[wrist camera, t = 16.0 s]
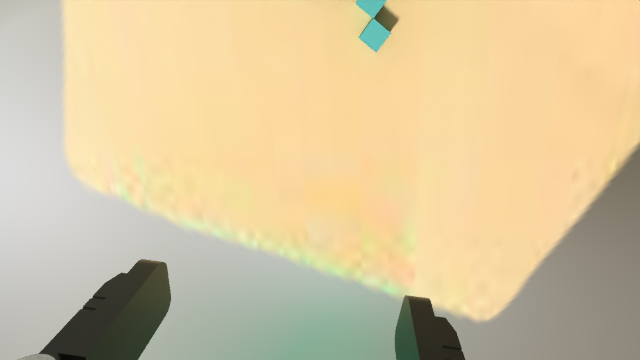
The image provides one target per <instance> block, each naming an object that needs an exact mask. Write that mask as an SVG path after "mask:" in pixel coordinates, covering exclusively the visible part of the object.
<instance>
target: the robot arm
mask: <svg viewBox="0 0 640 360" xmlns="http://www.w3.org/2000/svg"><path fill="white" fill-rule="evenodd" d="M170 301H171V293H170V285H169V279H168V271H167V265H166V263H164V262H159V261H151V260H144V259H142V260H139V261H138V262H137V263H136V264H135V265H134V266H133V268H132V269H131V270H130V271H129V272H128V273H127V274H126V273H120V274H119V275H117V276H115V277H114V278H112V279H111V280H109V281H107V282H106V283H105V284H104V285H103V286H102V287H101V288H100V289H99V290H98V291H97V292H96V293H95V294H94V295H93V298H92V299H90V300H89V301H88V302H87V303H86V304H85V305H84V306H83V309H81V310H79V312H78V313H77V314H76V315H75V316H74V317H73V318H72V319H71V320H70V321H69V322H68V323H67V324H66V325H65V326H64V328H63V329H62V330H61V331H60V332H59V333H58V334H57V335H56V336H55V337H54V338H53V339H52V340H51V341H50V342H49V344H48V345H47V346H46V347H45V348H44V349H43V350H42V351H41V352H40V353H39V354H35V355H30V356H26V357H23V358H21V359H18V360H138V359H139V357H140V355H141V354H142V352H143V350H144V349H145V347H146V346H147V344H148V343H149V341H150V340H151V338H152V336H153V335H154V333H155V331H156V330H157V328H158V327H159V325H160V324H161V322H162V320H163V319H164V317H165V316H166V314H167V312H168V309H169V306H170ZM395 352H396V359H397V360H465V358H464V355H463V352H462V351H461V345H460V342H459V339H458V336H457V333H456V331H455V330H454V329H453V327H452V326H451V325H450V323H449V322H448V321H447V319H446V318H443V317H436V316H434V312H433V308H432V304H431V301H430V299H428V298H421V297H414V296H407V295H406V296H405V297H404V300H403V304H402V308H401V312H400V315H399V319H398V323H397V326H396V331H395Z"/></svg>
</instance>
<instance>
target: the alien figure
mask: <svg viewBox="0 0 640 360" xmlns="http://www.w3.org/2000/svg"><path fill="white" fill-rule="evenodd" d="M386 1H387V0H357V2H356V4H357V5H358V6H359V7H360V8H361V9H362V10H364V11H365V12H366V13H367V14H368V15H370V16H371V17H372V18H373V19H372V20H371V21H370V23H369V24H368V25H367V27H366V28H365V29H364V31H363V32H362V34H361V35H360V36H359V39H361V40H362V41H363V42H364V43H365V44H367V45H368V46H369V47H370V48H371V49H373V50H374V51H375V52H377V51H378V49H379V48H380V47H381V45H382V44H383V43H384V42H385V40H386V39H387V38H388V36H389V35H390V34H391V33H390V32H389V31H388V30H387V29H385V28H384V27H383V26H382V25H381V24H380V23H378V22H377V21H376V20H375V19H374V17H375V16H376V14H377V13H378V12H379V10H380V9H381V7H382V6H383V5H384V3H385V2H386Z"/></svg>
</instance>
